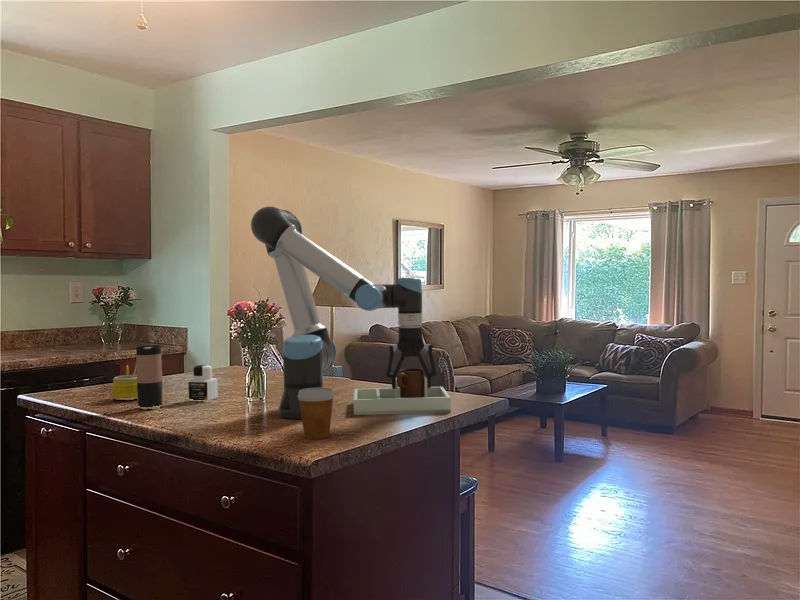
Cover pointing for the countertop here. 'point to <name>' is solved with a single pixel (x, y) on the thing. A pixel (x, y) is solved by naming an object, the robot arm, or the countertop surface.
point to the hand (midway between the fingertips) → (411, 398)
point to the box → (399, 402)
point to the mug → (411, 383)
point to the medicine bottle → (203, 384)
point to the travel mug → (149, 375)
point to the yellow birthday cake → (125, 385)
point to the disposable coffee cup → (316, 411)
